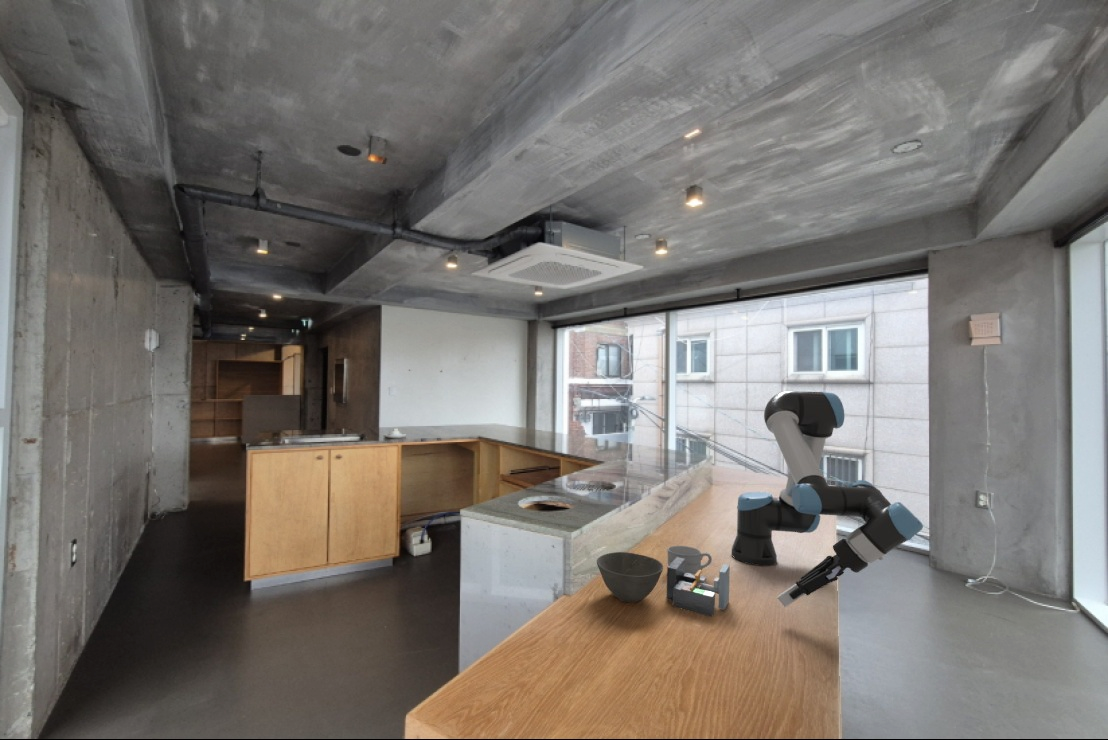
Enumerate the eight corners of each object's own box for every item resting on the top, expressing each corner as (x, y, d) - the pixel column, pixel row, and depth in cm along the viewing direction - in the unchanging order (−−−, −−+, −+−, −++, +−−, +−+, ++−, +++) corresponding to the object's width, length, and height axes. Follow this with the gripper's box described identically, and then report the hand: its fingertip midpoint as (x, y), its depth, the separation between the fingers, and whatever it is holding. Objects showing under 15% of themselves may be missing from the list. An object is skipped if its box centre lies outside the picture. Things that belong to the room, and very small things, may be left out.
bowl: (674, 598, 134) (675, 563, 135) (638, 621, 120) (639, 581, 121) (620, 579, 147) (621, 546, 147) (582, 597, 133) (583, 561, 134)
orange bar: (698, 577, 137) (698, 569, 137) (701, 578, 137) (701, 570, 137) (689, 590, 127) (689, 582, 128) (692, 591, 127) (692, 582, 127)
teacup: (664, 577, 150) (665, 551, 150) (669, 565, 160) (669, 541, 160) (710, 585, 145) (710, 559, 145) (712, 573, 155) (712, 548, 155)
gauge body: (676, 587, 142) (676, 557, 143) (721, 598, 136) (722, 566, 136) (662, 603, 131) (663, 571, 131) (711, 616, 124) (712, 582, 124)
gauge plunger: (700, 593, 137) (701, 558, 138) (728, 600, 133) (729, 564, 134) (694, 602, 131) (695, 566, 132) (724, 609, 127) (725, 572, 128)
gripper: (872, 572, 109) (790, 624, 117) (867, 556, 120) (793, 605, 128) (845, 544, 112) (767, 597, 119) (843, 531, 123) (772, 580, 131)
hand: (781, 601), depth 124 cm, fingers closed
